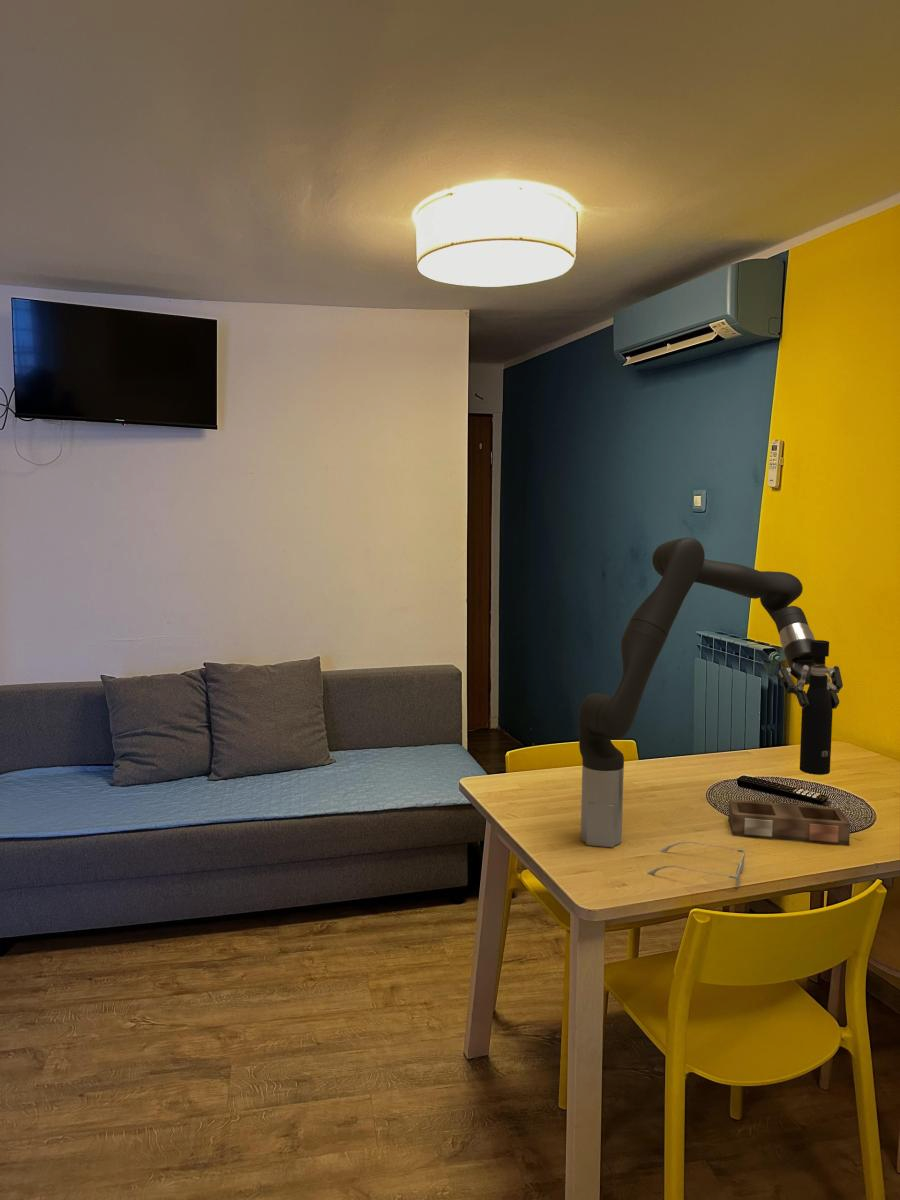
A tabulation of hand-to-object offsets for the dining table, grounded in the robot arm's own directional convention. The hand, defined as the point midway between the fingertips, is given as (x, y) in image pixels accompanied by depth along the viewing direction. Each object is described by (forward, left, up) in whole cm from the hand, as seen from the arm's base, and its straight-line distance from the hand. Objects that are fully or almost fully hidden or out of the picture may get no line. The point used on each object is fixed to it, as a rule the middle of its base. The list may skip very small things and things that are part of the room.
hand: (821, 706), depth 193 cm
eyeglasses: (-24, +27, -32) cm, 48 cm away
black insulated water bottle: (+2, 0, -15) cm, 16 cm away
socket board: (+4, +5, -31) cm, 32 cm away
